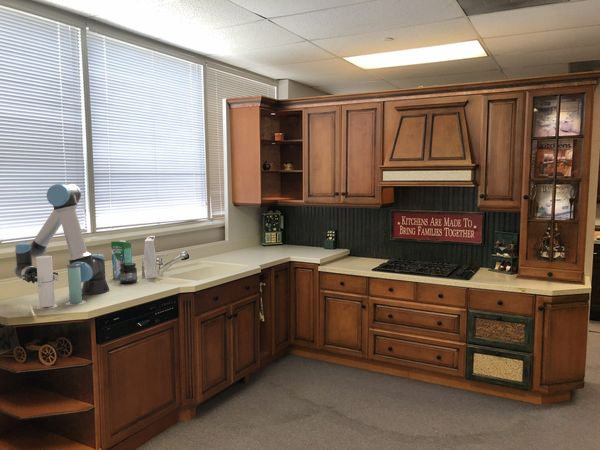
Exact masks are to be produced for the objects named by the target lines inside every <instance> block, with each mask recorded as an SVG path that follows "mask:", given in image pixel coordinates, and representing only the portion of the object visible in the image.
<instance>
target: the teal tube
mask: <svg viewBox="0 0 600 450" xmlns="http://www.w3.org/2000/svg"><path fill="white" fill-rule="evenodd" d="M80 266H81V265H80V264H70V263H69V264H67V265H66V268H67V279H68V280H67V281H68V283H67V284H68V297H69V302H70V304H79V303H82V300H83V294H82V282H81V272H80ZM79 305H80V304H79Z"/></svg>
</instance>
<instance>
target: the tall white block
mask: <svg viewBox="0 0 600 450" xmlns="http://www.w3.org/2000/svg"><path fill="white" fill-rule="evenodd" d="M35 259H36V260H35V261H36V262H35V263H36V268H37V277H40V278H42V283H41V284H40V283H37V290H38V291H37V293H38V306H39V307H50V306H54V305H55V304H56V301H55V300H56V299H55V298H56V297H55V296H56V295H55V285H54V284H55V280H53V272H54V269H53V268H54V265H53V256H52V255H41V256H39V257H35Z"/></svg>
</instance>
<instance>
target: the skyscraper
mask: <svg viewBox="0 0 600 450" xmlns="http://www.w3.org/2000/svg"><path fill="white" fill-rule="evenodd" d="M151 237H153V239H152V238H151ZM155 238H156V236H155V235H150V236H147V237H146V239H144V249H143V259H142V265H141V271H142V272H141V276H142V277H141V278H142V279H146V280H149V279H154V278H155V279H156V278H157V277H158V276H157V273H156V270H155V268H156V263H157V262H156V260H157V255H156V254H157V253H156V247H155V243H154V242H155ZM144 264H145V265H144ZM145 268H146V272H145Z"/></svg>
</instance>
